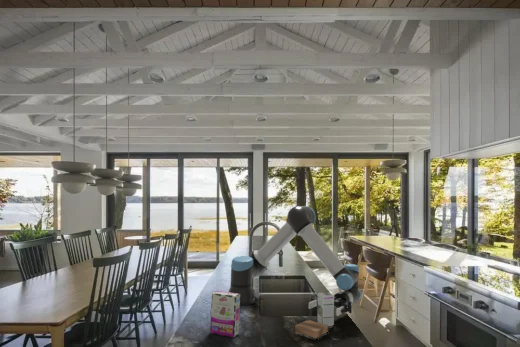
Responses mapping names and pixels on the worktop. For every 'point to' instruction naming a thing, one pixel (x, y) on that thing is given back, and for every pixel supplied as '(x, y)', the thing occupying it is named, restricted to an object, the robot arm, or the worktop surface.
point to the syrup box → (325, 309)
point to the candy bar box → (225, 313)
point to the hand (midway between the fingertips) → (322, 309)
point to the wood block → (311, 328)
